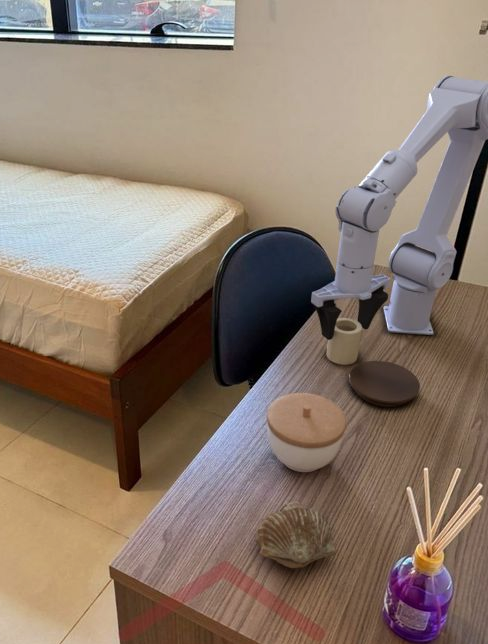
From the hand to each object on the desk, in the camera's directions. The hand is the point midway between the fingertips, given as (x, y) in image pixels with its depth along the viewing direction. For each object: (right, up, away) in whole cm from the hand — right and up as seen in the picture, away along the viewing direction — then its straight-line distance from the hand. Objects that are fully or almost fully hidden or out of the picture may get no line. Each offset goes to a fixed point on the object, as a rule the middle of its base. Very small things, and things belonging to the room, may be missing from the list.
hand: (345, 331), depth 105 cm
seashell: (-16, -27, -32) cm, 45 cm away
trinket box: (-12, -18, -18) cm, 28 cm away
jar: (0, -4, +3) cm, 5 cm away
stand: (+4, -10, -6) cm, 12 cm away
